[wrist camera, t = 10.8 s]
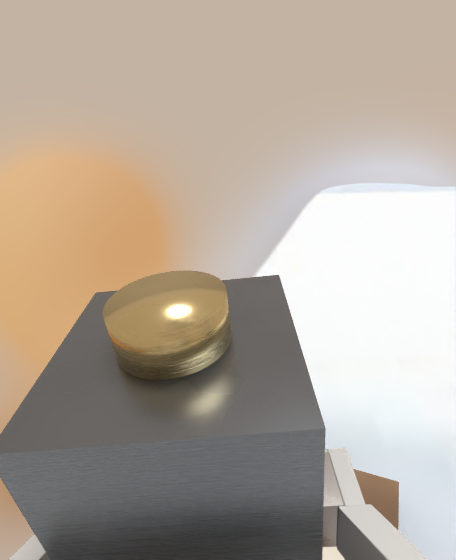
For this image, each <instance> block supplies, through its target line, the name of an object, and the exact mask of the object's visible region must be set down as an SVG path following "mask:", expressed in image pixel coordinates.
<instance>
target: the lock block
mask: <svg viewBox="0 0 456 560" xmlns="http://www.w3.org/2000/svg"><path fill="white" fill-rule="evenodd" d="M324 464H325V426H324V422H323V419H322V416H321V412H320V409H319V406H318V403H317V399H316V396H315V393H314V389H313V386H312V383H311V379H310V376H309V373H308V370H307V366H306V363H305V360H304V356H303V353H302V350H301V346H300V343H299V340H298V337H297V333H296V330H295V327H294V323H293V320H292V317H291V314H290V310H289V307H288V304H287V300H286V297H285V294H284V290H283V287H282V284H281V281H280V277H279V275H273V276H263V277H252V278H242V279H232V280H223V281H221V280H220V279H219V278H217V277H215V276H213V275H210V274H207V273H203V272H197V271H172V272H165V273H160V274H155V275H151V276H148V277H145V278H142V279H139V280H137V281H134V282H132V283H130V284H128V285H126V286H124V287H123V288H121V289H120V290H118V291H109V292H99V293H95V295H94V296H93V298H92V299H91V301H90V302H89V304H88V305H87V307H86V308H85V309H84V311H83V312H82V314H81V316H80V317H79V318H78V320H77V322H76V323H75V324H74V326H73V327H72V329H71V331H70V332H69V334H68V335H67V336H66V338H65V339H64V341H63V342H62V344H61V345H60V347H59V348H58V350H57V351H56V353H55V354H54V356H53V357H52V359H51V360H50V362H49V363H48V365H47V366H46V368H45V369H44V370H43V372H42V373H41V375H40V376H39V378H38V379H37V381H36V383H35V384H34V385H33V387H32V388H31V390H30V391H29V393H28V394H27V396H26V397H25V399H24V400H23V402H22V403H21V405H20V407H19V408H18V409H17V411H16V412H15V414H14V415H13V417H12V418H11V420H10V421H9V423H8V424H7V426H6V427H5V429H4V430H3V431H2V433H1V434H0V478H1V479H2V481H3V483H4V484H5V486H6V488H7V489H8V491H9V492H10V494H11V496H12V497H13V499H14V501H15V502H16V504H17V506H18V507H19V509H20V511H21V512H22V514H23V515H24V517H25V519H26V520H27V522H28V524H29V525H30V527H31V529H32V530H33V532H34V534H35V535H36V537H37V538H38V540H39V542H40V543H41V545H42V547H43V548H44V550H45V552H46V553H47V555H48V557H49V558H50V560H322V550H323V507H324Z"/></svg>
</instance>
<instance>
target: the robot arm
mask: <svg viewBox="0 0 456 560" xmlns="http://www.w3.org/2000/svg"><path fill="white" fill-rule="evenodd" d="M323 547H337V550H338V551H339V552H340V554H341V555H342V556H343V558H344V559H345V560H428V559H427V558H426V557H425V556H424V555H423V554H422V553H421V552H420V551H419V550H418V549H417V548H416V547H415V546H414V545H413V544H412V543H410V542H409V541H408V540H407V539H406V538H405V537H404V536H403V535H402V534H401V533H400V532H399V531H398V530H397V529H396V528H395V527H394V526H393V525H392V524H391V523H390V522H389V521H388V520H387V519H386V518H385V517H384V516H383V515H382V514H380V513H379V512H378V511H377V510H376V509H375V508H374V507H373V506H372V505H371V504H367V505H366V504H365V501H364V499H363V496H362V493H361V490H360V487H359V484H358V481H357V479H356V476H355V473H354V470H353V467H352V464H351V461H350V458H349V456H348V453H347V451H346V450H345V448H337V449H325V464H324V507H323ZM9 560H50V558H49V557H48V555H47V553H46V552H45V550H44V548H43V547H42V545H41V543H40V542H39V540H38V538H37V537H36V535H35V534H34V535H33V536H32V537H31V538H30V539H29V540H28V541H27V542H26V543H25V544H24V545H23V546H22V547H21V548H20V549H19V550H18V551H17V552H16V553H15V554H14V555H13V556H12V557H11V558H10V559H9Z"/></svg>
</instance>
